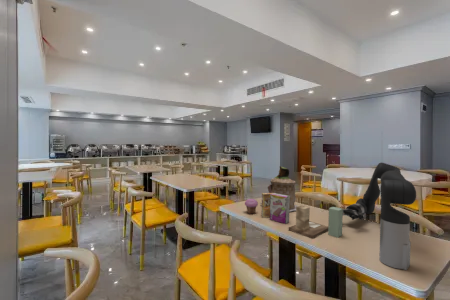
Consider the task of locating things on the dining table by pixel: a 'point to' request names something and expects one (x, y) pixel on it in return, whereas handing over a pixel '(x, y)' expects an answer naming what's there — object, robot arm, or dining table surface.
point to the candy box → (266, 204)
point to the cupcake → (251, 205)
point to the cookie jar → (284, 186)
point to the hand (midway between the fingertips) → (344, 215)
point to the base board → (311, 231)
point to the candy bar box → (279, 208)
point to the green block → (335, 222)
